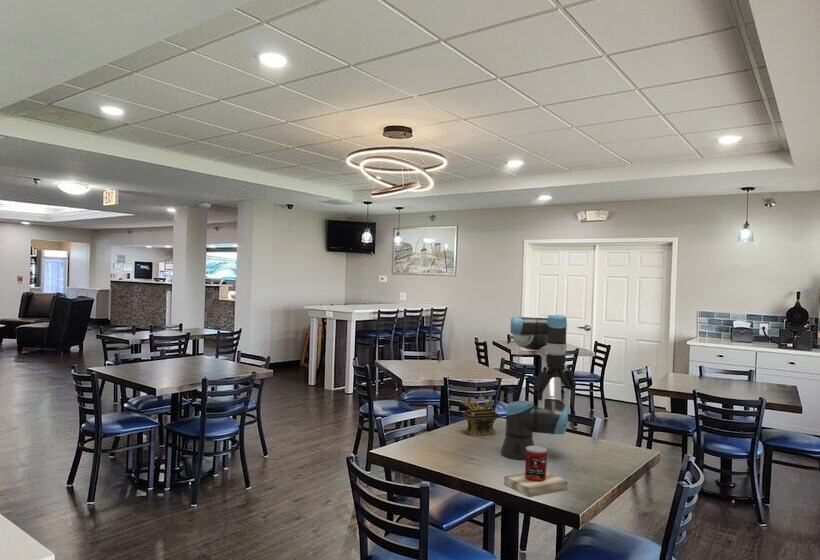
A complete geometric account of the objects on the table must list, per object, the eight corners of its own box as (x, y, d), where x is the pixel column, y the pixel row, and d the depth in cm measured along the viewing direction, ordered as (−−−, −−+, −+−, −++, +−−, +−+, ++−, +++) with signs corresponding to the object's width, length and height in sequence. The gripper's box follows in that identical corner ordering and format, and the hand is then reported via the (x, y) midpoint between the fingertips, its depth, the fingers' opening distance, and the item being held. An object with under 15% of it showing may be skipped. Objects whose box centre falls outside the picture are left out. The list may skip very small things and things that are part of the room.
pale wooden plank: (504, 484, 208) (504, 476, 208) (540, 477, 217) (540, 469, 217) (529, 496, 195) (530, 488, 196) (567, 489, 204) (567, 481, 204)
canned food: (523, 480, 204) (525, 450, 204) (525, 473, 211) (526, 444, 211) (545, 483, 201) (546, 452, 202) (546, 476, 209) (547, 446, 209)
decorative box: (489, 430, 289) (491, 392, 289) (499, 435, 280) (500, 395, 280) (455, 432, 281) (456, 393, 282) (463, 437, 272) (465, 397, 273)
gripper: (538, 356, 214) (536, 411, 214) (585, 353, 226) (584, 406, 226) (525, 353, 220) (523, 407, 221) (572, 351, 232) (570, 402, 232)
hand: (554, 406), depth 223 cm, fingers open, 13 cm apart
